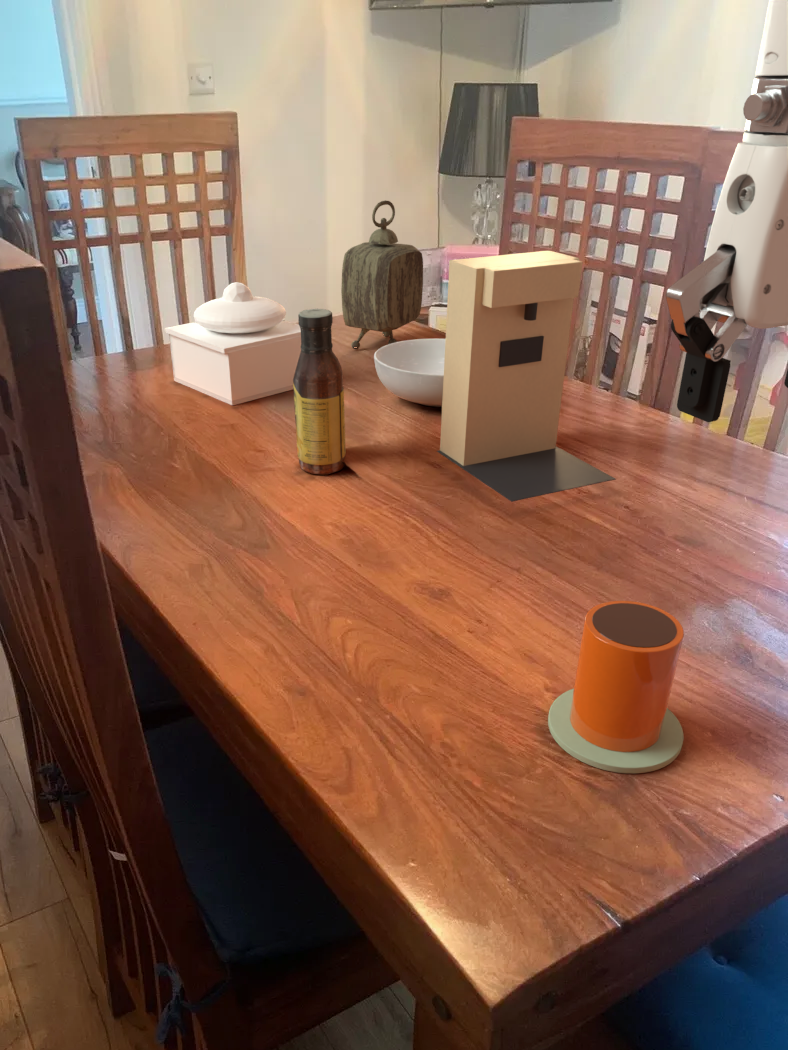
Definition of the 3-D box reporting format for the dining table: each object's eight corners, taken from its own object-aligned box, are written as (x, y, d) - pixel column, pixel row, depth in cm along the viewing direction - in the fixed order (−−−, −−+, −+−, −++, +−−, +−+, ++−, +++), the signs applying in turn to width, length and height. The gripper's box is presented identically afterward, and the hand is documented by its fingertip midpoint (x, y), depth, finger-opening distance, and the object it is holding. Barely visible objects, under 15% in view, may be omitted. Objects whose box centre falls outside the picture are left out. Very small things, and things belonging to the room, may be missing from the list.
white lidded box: (319, 382, 144) (316, 282, 135) (229, 406, 134) (220, 300, 126) (257, 360, 155) (252, 267, 147) (170, 381, 145) (159, 282, 137)
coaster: (622, 678, 72) (623, 672, 72) (711, 750, 64) (713, 744, 64) (522, 709, 69) (523, 703, 69) (603, 789, 61) (604, 783, 61)
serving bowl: (495, 426, 125) (499, 379, 121) (357, 413, 130) (357, 368, 127) (516, 384, 141) (520, 342, 138) (393, 374, 147) (394, 333, 144)
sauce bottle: (316, 455, 116) (312, 302, 106) (355, 465, 113) (354, 308, 103) (286, 471, 111) (279, 313, 101) (325, 481, 108) (322, 320, 98)
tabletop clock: (384, 334, 170) (386, 195, 157) (423, 340, 166) (429, 198, 153) (341, 350, 160) (340, 203, 147) (382, 358, 156) (385, 207, 143)
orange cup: (620, 687, 70) (639, 591, 66) (680, 737, 65) (705, 636, 60) (551, 709, 68) (565, 612, 63) (607, 762, 63) (627, 660, 58)
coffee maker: (435, 461, 114) (445, 260, 101) (531, 443, 119) (552, 250, 106) (510, 513, 100) (532, 288, 87) (614, 490, 105) (650, 274, 92)
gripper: (757, 123, 43) (694, 444, 52) (983, 107, 49) (892, 399, 58) (653, 118, 49) (612, 408, 58) (866, 105, 55) (799, 370, 64)
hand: (752, 403), depth 58 cm, fingers open, 9 cm apart
